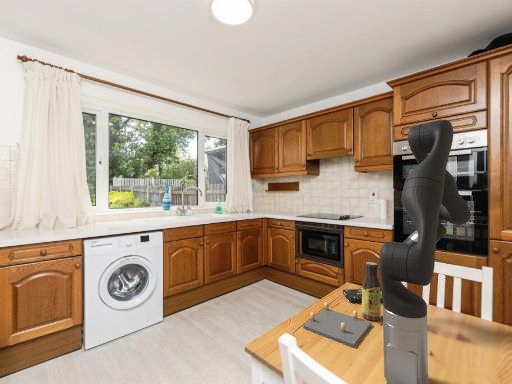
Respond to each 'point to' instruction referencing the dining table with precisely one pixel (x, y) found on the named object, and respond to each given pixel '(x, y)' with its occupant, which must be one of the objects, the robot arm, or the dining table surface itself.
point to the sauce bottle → (371, 293)
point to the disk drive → (355, 295)
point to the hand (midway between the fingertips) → (384, 275)
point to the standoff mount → (338, 326)
